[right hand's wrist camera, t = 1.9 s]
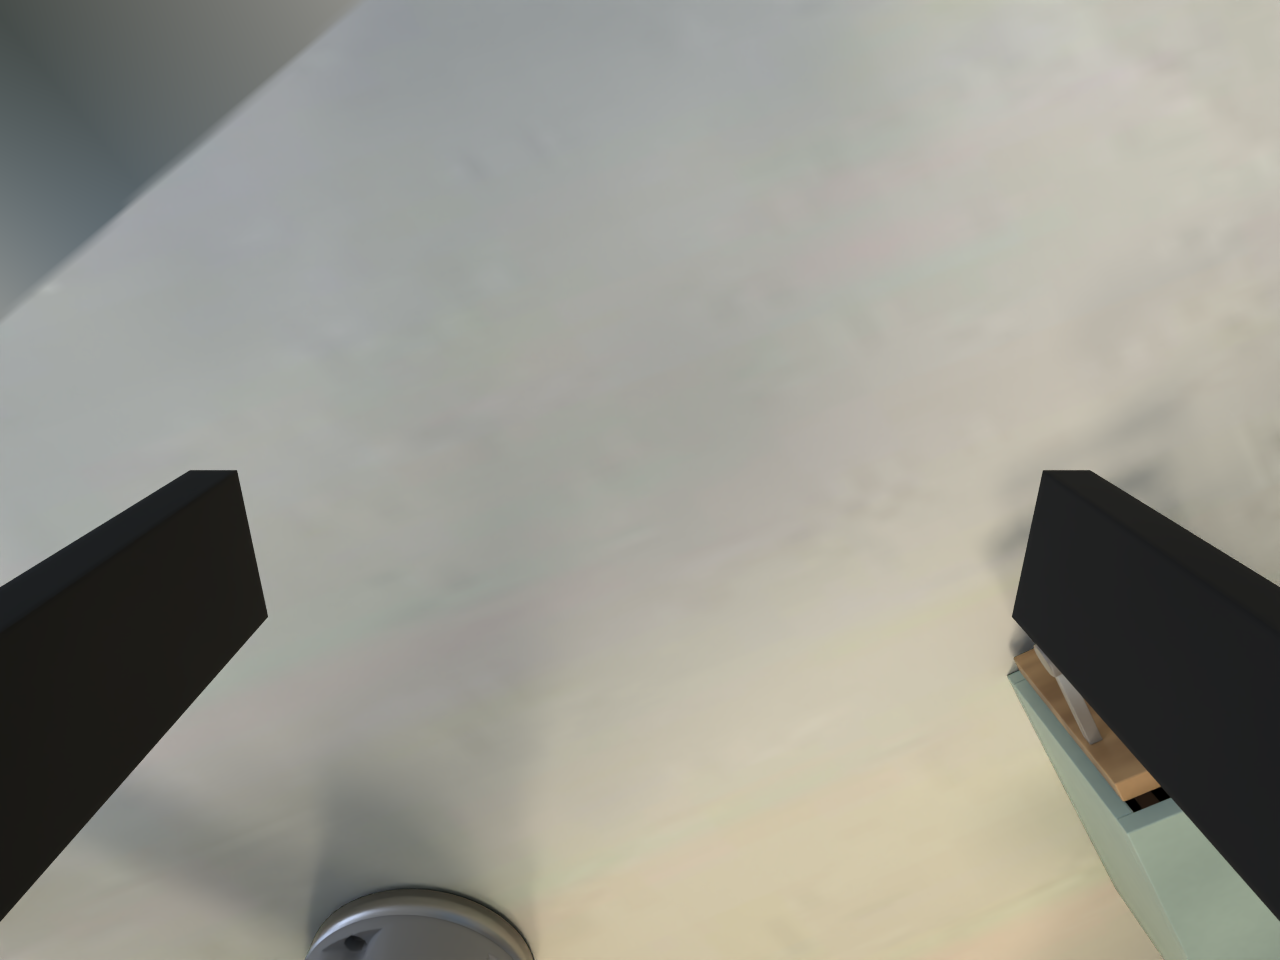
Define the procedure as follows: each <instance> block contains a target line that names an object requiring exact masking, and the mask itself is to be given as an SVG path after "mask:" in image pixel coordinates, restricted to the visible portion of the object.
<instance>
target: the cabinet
mask: <svg viewBox="0 0 1280 960" xmlns="http://www.w3.org/2000/svg"><path fill="white" fill-rule="evenodd" d="M1008 679H1009V681H1010V683H1011V685H1012V687H1013V688H1014V690H1015V692H1016V694H1017V696H1018V698H1019V700H1020V702H1021V704H1022V706H1023V708H1024V710H1025V712H1026V714H1027V716H1028V718H1029V720H1030V722H1031V724H1032V726H1033V728H1034V730H1035V732H1036V734H1037V736H1038V737H1039V739H1040V741H1041V743H1042V745H1043V747H1044V749H1045V751H1046V753H1047V755H1048V757H1049V759H1050V761H1051V763H1052V765H1053V767H1054V769H1055V771H1056V773H1057V775H1058V777H1059V779H1060V781H1061V783H1062V785H1063V786H1064V788H1065V790H1066V792H1067V794H1068V796H1069V798H1070V800H1071V802H1072V804H1073V806H1074V808H1075V810H1076V812H1077V814H1078V816H1079V818H1080V820H1081V822H1082V824H1083V826H1084V828H1085V830H1086V832H1087V833H1088V835H1089V837H1090V839H1091V841H1092V843H1093V845H1094V847H1095V849H1096V851H1097V853H1098V855H1099V857H1100V859H1101V861H1102V863H1103V865H1104V867H1105V869H1106V871H1107V873H1108V875H1109V877H1110V879H1111V881H1112V882H1113V884H1114V886H1115V888H1116V890H1117V892H1118V893H1119V895H1120V896H1121V897H1122V899H1123V900H1124V902H1125V903H1126V905H1127V906H1128V908H1129V909H1130V911H1131V912H1132V913H1133V915H1134V916H1135V918H1136V919H1137V921H1138V922H1139V924H1140V925H1141V927H1142V928H1143V930H1144V931H1145V933H1146V934H1147V935H1148V937H1149V938H1150V940H1151V941H1152V943H1153V944H1154V946H1155V947H1156V949H1157V950H1158V952H1159V953H1160V954H1161V956H1162V957H1163V959H1164V960H1280V921H1279V920H1278V919H1277V918H1276V917H1275V916H1274V915H1273V913H1272V912H1271V911H1270V910H1269V909H1268V908H1267V907H1266V905H1265V904H1264V903H1263V902H1262V901H1261V900H1260V899H1259V897H1258V896H1257V895H1256V894H1255V893H1254V892H1253V891H1252V889H1251V888H1250V887H1249V886H1248V885H1247V884H1246V883H1245V882H1244V880H1243V879H1242V878H1241V877H1240V876H1239V875H1238V874H1237V872H1236V871H1235V870H1234V869H1233V868H1232V867H1231V866H1230V864H1229V863H1228V862H1227V861H1226V860H1225V859H1224V858H1223V856H1222V855H1221V854H1220V853H1219V852H1218V851H1217V850H1216V848H1215V847H1214V846H1213V845H1212V844H1211V843H1210V842H1209V841H1208V839H1207V838H1206V837H1205V836H1204V835H1203V834H1202V833H1201V831H1200V830H1199V829H1198V828H1197V827H1196V826H1195V825H1194V823H1193V822H1192V821H1191V820H1190V819H1189V818H1188V817H1187V815H1186V814H1185V813H1184V812H1183V811H1182V810H1181V809H1180V807H1179V806H1178V805H1177V804H1176V803H1175V802H1174V801H1173V800H1172V798H1169V799H1166V800H1164V801H1161V802H1159V803H1156V804H1154V805H1151V806H1149V807H1147V808H1144V809H1142V810H1139V811H1137V812H1133V811H1132V809H1131V808H1130V807H1129V806H1128V804H1127V803H1126V802H1125V801H1122V800H1121V799H1120V797H1119V796H1118V795H1117V793H1116V792H1115V791H1114V790H1113V788H1112V787H1111V786H1110V785H1109V783H1108V782H1107V781H1106V780H1105V778H1104V777H1103V776H1102V775H1101V773H1100V772H1099V771H1098V770H1097V768H1096V767H1095V766H1094V765H1093V763H1092V762H1091V761H1090V759H1089V758H1088V757H1087V756H1086V754H1085V753H1084V752H1083V751H1082V749H1081V748H1080V747H1079V746H1078V744H1077V743H1076V742H1075V741H1074V739H1073V738H1072V737H1071V736H1070V734H1069V733H1068V732H1067V730H1066V729H1065V728H1064V727H1063V725H1062V724H1061V723H1060V722H1059V720H1058V719H1057V718H1056V717H1055V715H1054V714H1053V713H1052V712H1051V710H1050V709H1049V708H1048V707H1047V705H1046V704H1045V703H1044V701H1043V700H1042V699H1041V698H1040V696H1039V695H1038V694H1037V693H1036V691H1035V690H1034V689H1033V688H1032V686H1031V685H1030V684H1029V683H1028V681H1027V680H1026V679H1025V678H1024V676H1023V675H1022V674H1021V672H1020V670H1019V671H1017V672H1015V673H1013V674H1010V675H1008Z"/></svg>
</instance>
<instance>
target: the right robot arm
mask: <svg viewBox="0 0 1280 960" xmlns="http://www.w3.org/2000/svg"><path fill="white" fill-rule="evenodd" d="M267 617H268V614H267V610H266V605H265V600H264V595H263V591H262V586H261V581H260V577H259V572H258V567H257V562H256V558H255V553H254V548H253V544H252V539H251V534H250V529H249V525H248V520H247V515H246V510H245V506H244V501H243V496H242V492H241V487H240V482H239V477H238V473H237V470H190V471H188V472H186V473H185V474H183V475H182V476H180V477H178V478H177V479H175V480H174V481H172V482H170V483H169V484H167V485H165V486H164V487H162V488H161V489H159V490H157V491H156V492H154V493H152V494H151V495H149V496H148V497H146V498H144V499H143V500H141V501H139V502H138V503H136V504H135V505H133V506H131V507H130V508H128V509H126V510H125V511H123V512H122V513H120V514H118V515H117V516H115V517H113V518H112V519H110V520H109V521H107V522H105V523H104V524H102V525H100V526H99V527H97V528H96V529H94V530H92V531H91V532H89V533H87V534H86V535H84V536H83V537H81V538H79V539H78V540H76V541H74V542H73V543H71V544H70V545H68V546H66V547H65V548H63V549H61V550H60V551H58V552H57V553H55V554H53V555H52V556H50V557H49V558H47V559H45V560H44V561H42V562H40V563H39V564H37V565H36V566H34V567H32V568H31V569H29V570H27V571H26V572H24V573H23V574H21V575H19V576H18V577H16V578H14V579H13V580H11V581H10V582H8V583H6V584H5V585H3V586H1V587H0V921H1V920H2V919H3V918H4V917H5V916H6V915H7V913H8V912H9V911H10V910H11V909H12V908H13V907H14V905H15V904H16V903H17V902H18V901H19V900H20V899H21V897H22V896H23V895H24V894H25V893H26V892H27V891H28V889H29V888H30V887H31V886H32V885H33V884H34V883H35V882H36V880H37V879H38V878H39V877H40V876H41V875H42V874H43V872H44V871H45V870H46V869H47V868H48V867H49V866H50V864H51V863H52V862H53V861H54V860H55V859H56V858H57V856H58V855H59V854H60V853H61V852H62V851H63V850H64V848H65V847H66V846H67V845H68V844H69V843H70V842H71V841H72V839H73V838H74V837H75V836H76V835H77V834H78V833H79V831H80V830H81V829H82V828H83V827H84V826H85V825H86V823H87V822H88V821H89V820H90V819H91V818H92V817H93V815H94V814H95V813H96V812H97V811H98V810H99V809H100V807H101V806H102V805H103V804H104V803H105V802H106V801H107V800H108V798H109V797H110V796H111V795H112V794H113V793H114V792H115V790H116V789H117V788H118V787H119V786H120V785H121V784H122V782H123V781H124V780H125V779H126V778H127V777H128V776H129V774H130V773H131V772H132V771H133V770H134V769H135V768H136V766H137V765H138V764H139V763H140V762H141V761H142V760H143V759H144V757H145V756H146V755H147V754H148V753H149V752H150V751H151V749H152V748H153V747H154V746H155V745H156V744H157V743H158V741H159V740H160V739H161V738H162V737H163V736H164V735H165V733H166V732H167V731H168V730H169V729H170V728H171V727H172V725H173V724H174V723H175V722H176V721H177V720H178V719H179V718H180V716H181V715H182V714H183V713H184V712H185V711H186V710H187V708H188V707H189V706H190V705H191V704H192V703H193V702H194V700H195V699H196V698H197V697H198V696H199V695H200V694H201V692H202V691H203V690H204V689H205V688H206V687H207V686H208V684H209V683H210V682H211V681H212V680H213V679H214V678H215V677H216V675H217V674H218V673H219V672H220V671H221V670H222V669H223V667H224V666H225V665H226V664H227V663H228V662H229V661H230V659H231V658H232V657H233V656H234V655H235V654H236V653H237V651H238V650H239V649H240V648H241V647H242V646H243V645H244V644H245V642H246V641H247V640H248V639H249V638H250V637H251V636H252V634H253V633H254V632H255V631H256V630H257V629H258V628H259V626H260V625H261V624H262V623H263V622H264V621H265V620H266V618H267ZM1012 617H1013V618H1014V620H1015V621H1016V622H1017V623H1018V624H1019V625H1020V626H1021V628H1022V629H1023V630H1024V631H1025V632H1026V633H1027V634H1028V636H1029V637H1030V638H1031V639H1032V640H1033V641H1034V642H1035V644H1036V645H1037V646H1038V647H1039V648H1040V649H1041V650H1042V651H1043V653H1044V654H1045V655H1046V656H1047V657H1048V658H1049V659H1050V661H1051V662H1052V663H1053V664H1054V665H1055V666H1056V667H1057V669H1058V670H1059V671H1060V672H1061V673H1062V674H1063V675H1064V677H1065V678H1066V679H1067V680H1068V681H1069V682H1070V683H1071V684H1072V686H1073V687H1074V688H1075V689H1076V690H1077V691H1078V692H1079V694H1080V695H1081V696H1082V697H1083V698H1084V699H1085V700H1086V702H1087V703H1088V704H1089V705H1090V706H1091V707H1092V708H1093V710H1094V711H1095V712H1096V713H1097V714H1098V715H1099V716H1100V718H1101V719H1102V720H1103V721H1104V722H1105V723H1106V724H1107V725H1108V727H1109V728H1110V729H1111V730H1112V731H1113V732H1114V733H1115V735H1116V736H1117V737H1118V738H1119V739H1120V740H1121V741H1122V743H1123V744H1124V745H1125V746H1126V747H1127V748H1128V749H1129V751H1130V752H1131V753H1132V754H1133V755H1134V756H1135V757H1136V759H1137V760H1138V761H1139V762H1140V763H1141V764H1142V765H1143V766H1144V768H1145V769H1146V770H1147V771H1148V772H1149V773H1150V774H1151V776H1152V777H1153V778H1154V779H1155V780H1156V781H1157V782H1158V784H1159V785H1160V786H1161V787H1162V788H1163V789H1164V790H1165V792H1166V793H1167V794H1168V795H1169V796H1170V797H1171V798H1172V800H1173V801H1174V802H1175V803H1176V804H1177V805H1178V806H1179V807H1180V809H1181V810H1182V811H1183V812H1184V813H1185V814H1186V815H1187V817H1188V818H1189V819H1190V820H1191V821H1192V822H1193V823H1194V825H1195V826H1196V827H1197V828H1198V829H1199V830H1200V831H1201V833H1202V834H1203V835H1204V836H1205V837H1206V838H1207V839H1208V841H1209V842H1210V843H1211V844H1212V845H1213V846H1214V847H1215V848H1216V850H1217V851H1218V852H1219V853H1220V854H1221V855H1222V856H1223V858H1224V859H1225V860H1226V861H1227V862H1228V863H1229V864H1230V866H1231V867H1232V868H1233V869H1234V870H1235V871H1236V872H1237V874H1238V875H1239V876H1240V877H1241V878H1242V879H1243V880H1244V882H1245V883H1246V884H1247V885H1248V886H1249V887H1250V888H1251V889H1252V891H1253V892H1254V893H1255V894H1256V895H1257V896H1258V897H1259V899H1260V900H1261V901H1262V902H1263V903H1264V904H1265V905H1266V907H1267V908H1268V909H1269V910H1270V911H1271V912H1272V913H1273V915H1274V916H1275V917H1276V918H1277V919H1278V920H1279V921H1280V587H1279V586H1277V585H1275V584H1274V583H1272V582H1270V581H1269V580H1267V579H1266V578H1264V577H1262V576H1261V575H1259V574H1257V573H1256V572H1254V571H1253V570H1251V569H1249V568H1248V567H1246V566H1244V565H1243V564H1241V563H1240V562H1238V561H1236V560H1235V559H1233V558H1231V557H1230V556H1228V555H1227V554H1225V553H1223V552H1222V551H1220V550H1219V549H1217V548H1215V547H1214V546H1212V545H1210V544H1209V543H1207V542H1206V541H1204V540H1202V539H1201V538H1199V537H1197V536H1196V535H1194V534H1193V533H1191V532H1189V531H1188V530H1186V529H1184V528H1183V527H1181V526H1180V525H1178V524H1176V523H1175V522H1173V521H1171V520H1170V519H1168V518H1167V517H1165V516H1163V515H1162V514H1160V513H1158V512H1157V511H1155V510H1154V509H1152V508H1150V507H1149V506H1147V505H1145V504H1144V503H1142V502H1141V501H1139V500H1137V499H1136V498H1134V497H1132V496H1131V495H1129V494H1128V493H1126V492H1124V491H1123V490H1121V489H1119V488H1118V487H1116V486H1115V485H1113V484H1111V483H1110V482H1108V481H1106V480H1105V479H1103V478H1102V477H1100V476H1098V475H1097V474H1095V473H1094V472H1092V471H1090V470H1043V473H1042V477H1041V482H1040V487H1039V492H1038V496H1037V501H1036V506H1035V511H1034V515H1033V520H1032V525H1031V529H1030V534H1029V539H1028V544H1027V548H1026V553H1025V558H1024V562H1023V567H1022V572H1021V577H1020V581H1019V586H1018V591H1017V595H1016V600H1015V605H1014V610H1013V614H1012ZM305 960H533V957H532V955H531V952H530V950H529V948H528V946H527V944H526V943H525V941H524V940H523V938H522V937H521V935H520V934H519V933H518V932H517V931H516V930H515V929H514V928H513V927H512V926H511V925H510V924H509V923H508V922H507V921H506V920H504V919H503V918H502V917H501V916H499V915H498V914H496V913H495V912H493V911H491V910H490V909H488V908H486V907H484V906H482V905H480V904H478V903H476V902H474V901H471V900H468V899H466V898H463V897H460V896H456V895H453V894H449V893H444V892H439V891H432V890H422V889H400V890H390V891H383V892H378V893H374V894H370V895H367V896H364V897H361V898H359V899H356V900H354V901H352V902H350V903H348V904H346V905H344V906H343V907H341V908H340V909H338V910H337V911H335V912H334V913H333V914H332V915H331V916H330V917H329V918H328V919H327V920H326V921H325V922H324V923H323V924H322V926H321V927H320V929H319V930H318V932H317V934H316V936H315V938H314V940H313V942H312V944H311V947H310V949H309V951H308V954H307V956H306V958H305Z"/></svg>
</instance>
